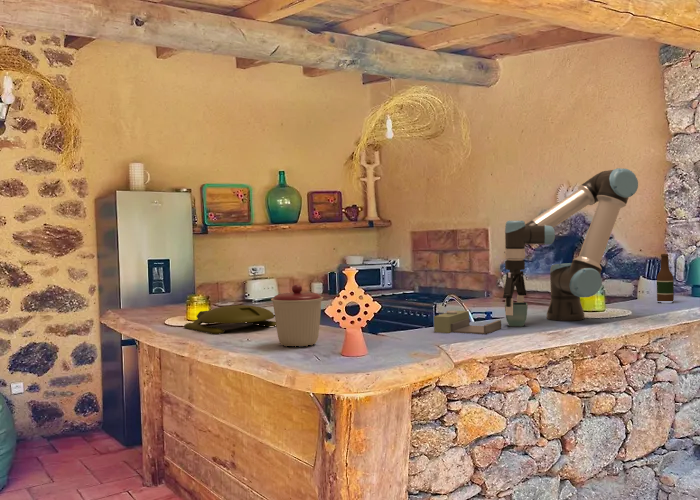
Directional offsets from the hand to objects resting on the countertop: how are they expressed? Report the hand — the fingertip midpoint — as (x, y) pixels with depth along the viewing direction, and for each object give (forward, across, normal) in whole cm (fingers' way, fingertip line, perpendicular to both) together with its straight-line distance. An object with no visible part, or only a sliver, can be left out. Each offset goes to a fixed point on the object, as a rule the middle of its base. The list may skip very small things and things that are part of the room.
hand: (514, 313), depth 276 cm
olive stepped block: (+6, +17, -20) cm, 26 cm away
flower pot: (+5, 0, 0) cm, 5 cm away
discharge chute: (+5, +17, -10) cm, 20 cm away
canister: (+7, +72, -54) cm, 90 cm away
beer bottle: (+3, -103, +41) cm, 111 cm away
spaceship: (+8, +46, -104) cm, 114 cm away
